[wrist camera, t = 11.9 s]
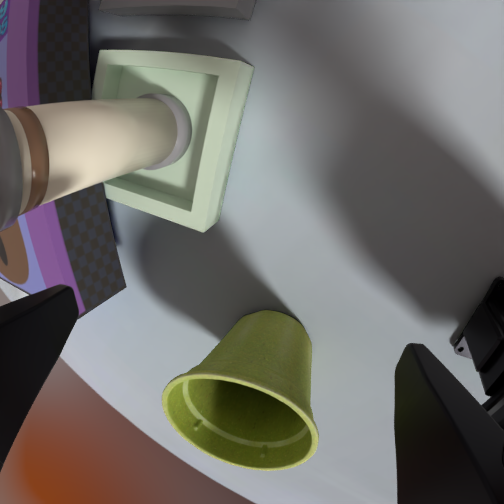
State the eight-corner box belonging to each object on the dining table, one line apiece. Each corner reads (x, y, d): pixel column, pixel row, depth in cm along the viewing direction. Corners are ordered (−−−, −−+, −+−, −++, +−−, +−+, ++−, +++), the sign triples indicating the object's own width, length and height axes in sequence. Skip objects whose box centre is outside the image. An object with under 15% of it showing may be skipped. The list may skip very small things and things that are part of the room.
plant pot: (356, 316, 21) (348, 416, 13) (308, 398, 25) (285, 484, 18) (228, 268, 22) (165, 346, 15) (206, 359, 27) (159, 433, 19)
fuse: (185, 85, 17) (-19, 86, 6) (198, 160, 19) (8, 235, 8) (125, 105, 19) (-56, 134, 8) (138, 172, 21) (-34, 243, 9)
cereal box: (-2, 277, 26) (-36, 58, 17) (31, 259, 30) (1, 53, 21) (77, 319, 18) (34, -38, 9) (126, 287, 22) (90, -31, 13)
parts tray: (254, 67, 16) (241, 61, 14) (218, 220, 21) (203, 232, 19) (122, 53, 18) (99, 49, 16) (103, 181, 23) (82, 189, 21)
